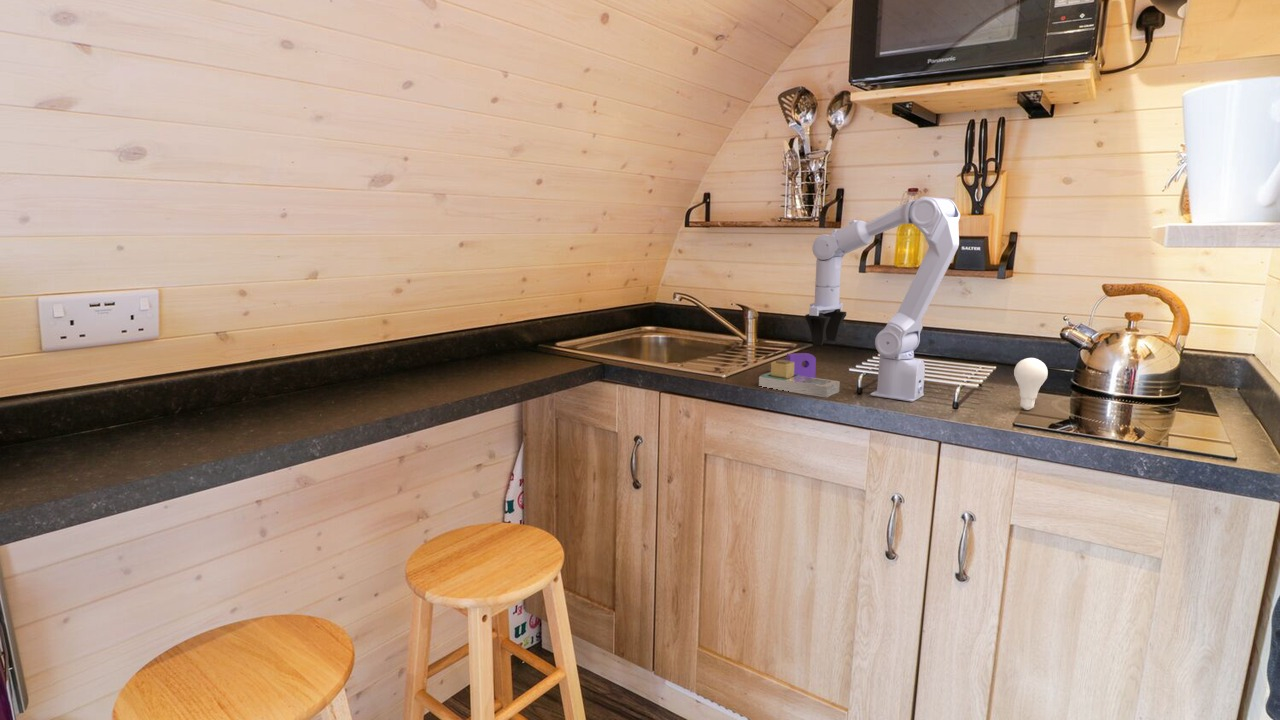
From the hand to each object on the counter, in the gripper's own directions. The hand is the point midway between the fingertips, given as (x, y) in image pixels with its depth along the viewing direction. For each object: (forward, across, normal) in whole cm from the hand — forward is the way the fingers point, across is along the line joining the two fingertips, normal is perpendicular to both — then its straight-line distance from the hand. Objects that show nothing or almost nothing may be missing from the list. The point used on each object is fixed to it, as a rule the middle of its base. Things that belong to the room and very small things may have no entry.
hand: (824, 342), depth 171 cm
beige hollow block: (+10, +10, -6) cm, 15 cm away
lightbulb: (+10, -3, +44) cm, 45 cm away
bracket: (+10, -3, -10) cm, 15 cm away
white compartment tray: (+10, +10, -2) cm, 14 cm away
